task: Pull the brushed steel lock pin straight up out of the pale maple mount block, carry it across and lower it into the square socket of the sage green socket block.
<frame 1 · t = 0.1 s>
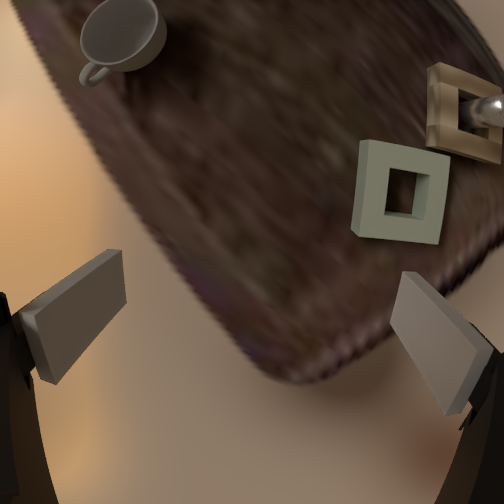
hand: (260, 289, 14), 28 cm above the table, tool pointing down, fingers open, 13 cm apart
socket block: (396, 190, 39), on the table
mount block: (459, 116, 34), on the table
lock pin: (482, 113, 29), in the mount block
teacup: (132, 52, 35), on the table
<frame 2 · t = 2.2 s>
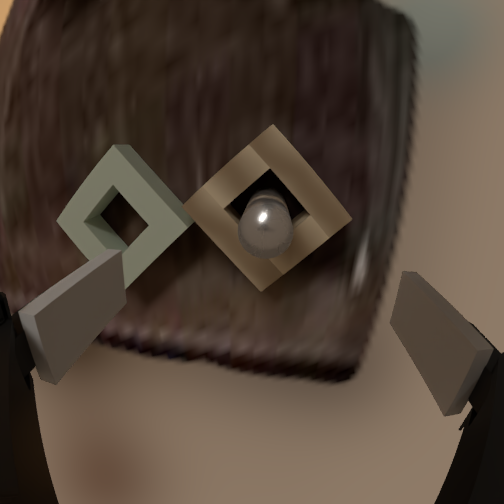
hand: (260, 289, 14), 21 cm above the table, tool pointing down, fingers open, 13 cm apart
socket block: (129, 215, 35), on the table
mount block: (267, 205, 34), on the table
lock pin: (266, 215, 28), in the mount block
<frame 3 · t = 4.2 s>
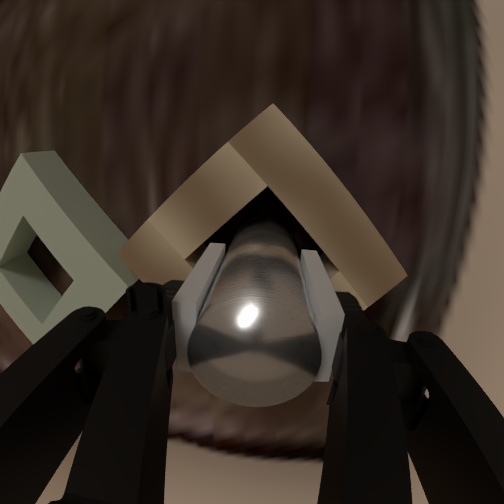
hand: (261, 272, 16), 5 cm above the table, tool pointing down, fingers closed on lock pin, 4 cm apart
socket block: (60, 256, 22), on the table
mount block: (263, 244, 20), on the table
lock pin: (260, 282, 14), in the mount block, touching gripper
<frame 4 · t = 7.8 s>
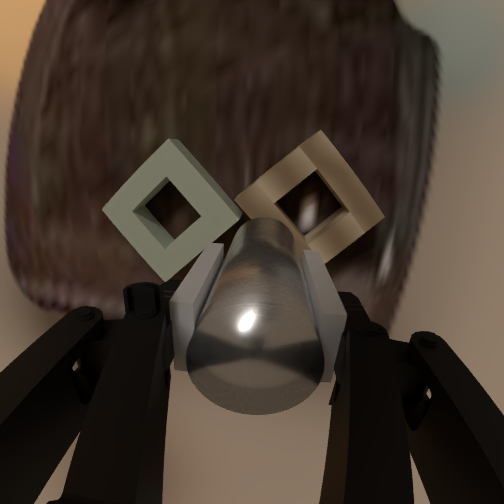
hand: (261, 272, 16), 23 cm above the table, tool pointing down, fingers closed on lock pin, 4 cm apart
socket block: (175, 207, 38), on the table
mount block: (308, 202, 37), on the table
lock pin: (261, 285, 14), point 24 cm above the table, touching gripper
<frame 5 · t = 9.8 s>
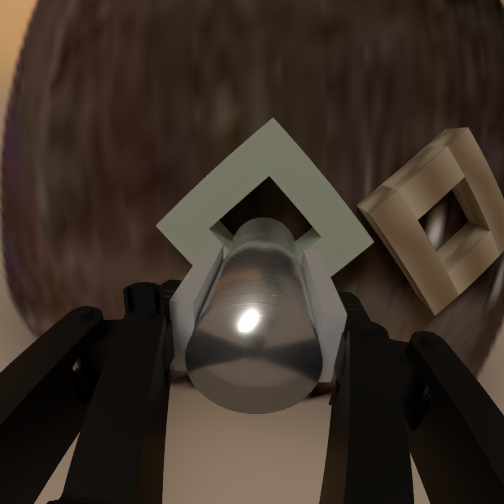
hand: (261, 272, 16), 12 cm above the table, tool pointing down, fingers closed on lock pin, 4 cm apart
socket block: (266, 221, 27), on the table
mount block: (436, 216, 26), on the table
lock pin: (260, 285, 14), point 13 cm above the table, touching gripper
when the fingers open (7 cm above the table, at t = 11.5 s): lock pin drops 3 cm, resting in socket block.
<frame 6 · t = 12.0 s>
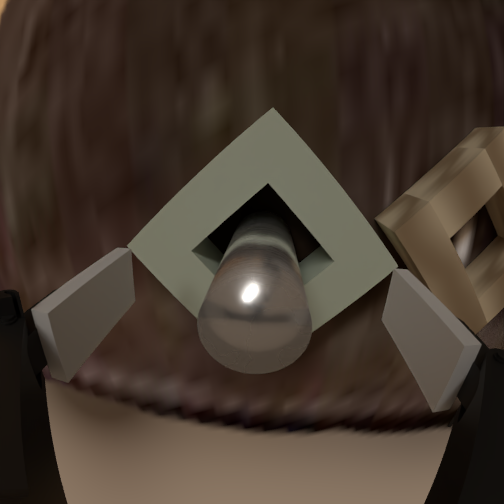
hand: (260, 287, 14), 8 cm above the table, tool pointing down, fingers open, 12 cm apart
socket block: (264, 238, 22), on the table
mount block: (464, 230, 21), on the table
lock pin: (260, 269, 16), in the socket block
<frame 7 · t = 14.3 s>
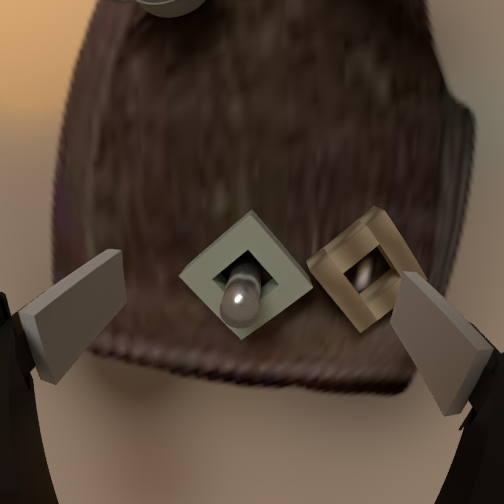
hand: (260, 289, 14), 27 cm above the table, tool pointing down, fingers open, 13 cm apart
socket block: (247, 271, 42), on the table
mount block: (364, 266, 42), on the table
lock pin: (243, 288, 37), in the socket block
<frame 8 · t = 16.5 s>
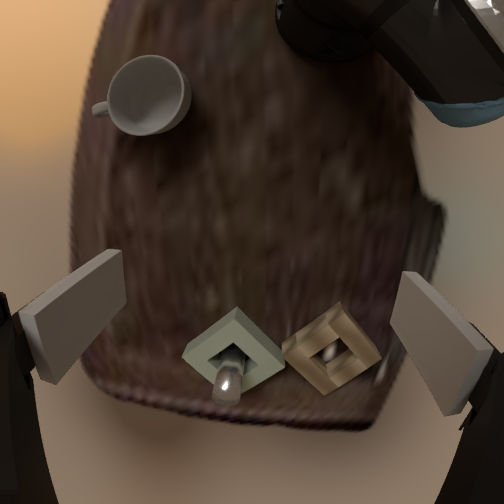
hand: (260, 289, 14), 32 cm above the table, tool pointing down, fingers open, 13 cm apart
socket block: (235, 349, 52), on the table
mount block: (330, 345, 51), on the table
lock pin: (230, 371, 46), in the socket block
teacup: (153, 103, 41), on the table
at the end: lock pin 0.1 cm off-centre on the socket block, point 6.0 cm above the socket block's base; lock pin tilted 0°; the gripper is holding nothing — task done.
